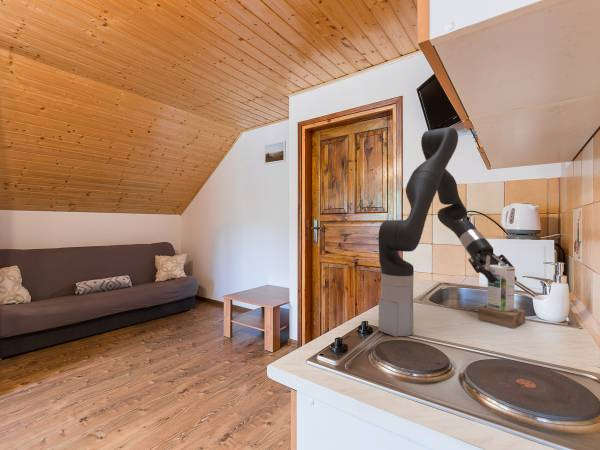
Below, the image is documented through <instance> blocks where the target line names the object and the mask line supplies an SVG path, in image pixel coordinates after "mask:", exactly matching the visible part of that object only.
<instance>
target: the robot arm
mask: <svg viewBox="0 0 600 450" xmlns="http://www.w3.org/2000/svg"><path fill="white" fill-rule="evenodd" d="M458 142H459V134H458V131H457V130H456V128H454V127H450V126H449V127H442V128H435V129H430V130H429V129H428V130H426V131H424V133H422V135H421V140H420V145H421V151H422V153H423V156H424V159H425V160H424V162H422V163H421V164H419V165H417V167H416V168H415V169H414V170H413V172H412V173H411V175H410V176H409V177H410V178H409V179H408V181H407V184H406V187H405V193H406V194H405V195H406V198H407V200H408V203H409V205H410V213H408V214H409V215H408V217H407V218H406V219H398V220H397V219H393V220H392V219H389V220H384V221H383V222H382V223H381V225H380V226H379V229H378V255H379V256H378V257H379V258H378V261H379V265H380V270H381V271H380V273H381V274H380V275H381V276H380V278H381V279H380V298H379V299H378V331H380V332H382V333H385V334H387V335H390V336H392V337H395V338H397V337H408V336H411V335H413V333H414V277H415V276H414V275H415V273H414V269H415V268H414V266H413V264H412V263H410V262H408V261H406V260H405V259H403V258H402V257H401V256H400V255H399V252H407V253H408V252H413V251H415V250H416V249H417V248H418V245H419V243H420V241H421V238H422V235H423V231H424V228H425V224H426V221H427V217H428V214H429V211H430V209H431V205H432V202H433V201H434V198H435V196H436V194H437V195H438V200H439V202H440V203H441V204H442V205H446V206H444V207H443V208H440V209H438V211H437V219H438V221H439V222H440V223H441V224H442V225H443V226H445V227H446V228H447V229H449V230H450V231H452V232H453V233H454V234H455V235H456V237H457V238H458V239H459V241H460V243H461V245H462V246H463V247H464V249H465V250H466V252H467V253H468V254H469V256H470V257H469V258H468V262H469V264H470V265H471V266H472V268H473V270H474V271H475V273H477V274H482V275H483V276H484V277H485V278H486V279H487V282H488V281H489V282H490V283H494V282H496V281H497V279H496V278H495V276H494V275H493V274H492V272H491V271H488V270H489V266H490V265H501V266H508V267H515V266H514V265H513V264H512V263H511V262H510V261H509V260H508V258H506V256H505V255H504V254H500V255H496V254H495V253H494V247H493V246H492V245H491V243H490V242H489V241H488V240H487V239H486V237H485V235H483V233H481V232H480V231H479V230H478V228H477V227H476V226H475V225H474V223H472V222H471V221H470V220H468V219H465V218H466V217H467V216H468V215H467V214H468V210H467V208H466V207H465V204H463V202H462V199H461V198H460V195H459V191H458V184H457V181H456V179H455V177H454V176H453V175H452V173H450V172H449V171H448V169H446V168H447V167H448V164H449V162H450V161H451V160H452V157H453V155H454V153H455V151H456V149H457V147H458ZM447 205H448V206H447ZM517 280H518V279H517V275H515V282H516V281H517Z"/></svg>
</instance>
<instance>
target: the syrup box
mask: <svg viewBox="0 0 600 450" xmlns="http://www.w3.org/2000/svg"><path fill="white" fill-rule="evenodd" d="M488 271H491V272H492V274H493V275H494V276H495V278H496V279H497V281H496V282H494V283H490V282H489V281H488V280H487V292H486V293H487V296H486V298H487V299H486V301H487V302H486V305H487V308H491V309H495V310H498V311H502V312H507V311H512V310H514V308H515V283H516V281H515V276H516V268H515V266H514V267H508V265H507V266H501V265H500V264H498V265H490V266H489V270H488Z"/></svg>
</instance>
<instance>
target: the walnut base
mask: <svg viewBox="0 0 600 450" xmlns="http://www.w3.org/2000/svg"><path fill="white" fill-rule="evenodd" d="M477 309H478V313H477V314H478V316H477V317H478V319H477V320H478V321H482V322H484V323H485V322H486V323H490V324H493V325H497V326H501V327H505V328H508V329H515V328H517V327H519V326H521V325H523V324H525V323H526V310H525V309H518V308H515V307H514V310H512V311H507V312H502V311H498V310H495V309H491V308H487V304H486V305H484V306H481V307H478V308H477Z"/></svg>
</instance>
